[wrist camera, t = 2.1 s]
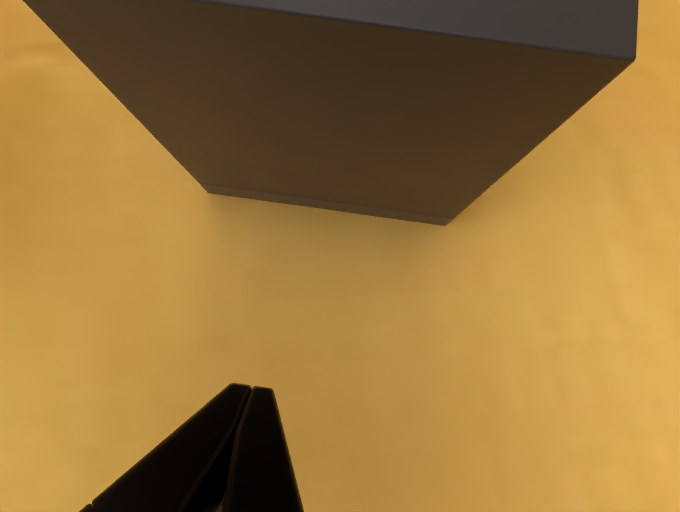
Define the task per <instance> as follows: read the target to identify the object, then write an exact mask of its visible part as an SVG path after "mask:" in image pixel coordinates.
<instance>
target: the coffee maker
mask: <svg viewBox="0 0 680 512" xmlns="http://www.w3.org/2000/svg"><path fill="white" fill-rule="evenodd" d="M23 1H24V2H25V3H26V4H27V5H28V6H29V7H30V8H31V9H32V10H33V11H34V12H35V13H36V15H37V16H38V17H39V18H40V19H41V20H42V21H43V22H44V23H45V24H46V25H47V26H48V27H49V28H50V29H51V30H52V31H53V32H54V33H55V34H56V35H57V36H58V37H59V38H60V39H61V40H62V41H63V43H64V44H65V45H66V46H67V47H68V48H69V49H70V50H71V51H72V52H73V53H74V54H75V55H76V56H77V57H78V58H79V59H80V60H81V61H82V62H83V63H84V64H85V65H86V66H87V67H88V68H89V69H90V70H91V72H92V73H93V74H94V75H95V76H96V77H97V78H98V79H99V80H100V81H101V82H102V83H103V84H104V85H105V86H106V87H107V88H108V89H109V90H110V91H111V92H112V93H113V94H114V95H115V96H116V97H117V98H118V99H119V101H120V102H121V103H122V104H123V105H124V106H125V107H126V108H127V109H128V110H129V111H130V112H131V113H132V114H133V115H134V116H135V117H136V118H137V119H138V120H139V121H140V122H141V123H142V124H143V125H144V126H145V127H146V128H147V130H148V131H149V132H150V133H151V134H152V135H153V136H154V137H155V138H156V139H157V140H158V141H159V142H160V143H161V144H162V145H163V146H164V147H165V148H166V149H167V150H168V151H169V152H170V153H171V154H172V155H173V156H174V157H175V159H176V160H177V161H178V162H179V163H180V164H181V165H182V166H183V167H184V168H185V169H186V170H187V171H188V172H189V173H190V174H191V175H192V176H193V177H194V178H195V179H196V180H197V181H198V182H199V183H200V184H201V186H202V187H203V188H204V189H205V190H206V191H207V192H208V193H215V194H222V195H229V196H236V197H243V198H250V199H258V200H265V201H272V202H279V203H286V204H293V205H300V206H308V207H315V208H322V209H329V210H336V211H343V212H350V213H358V214H365V215H372V216H379V217H386V218H393V219H400V220H407V221H415V222H422V223H429V224H436V225H443V226H445V225H447V224H448V223H449V222H450V221H451V220H452V219H454V218H455V217H456V216H457V215H458V214H459V213H460V212H462V211H463V210H464V209H465V208H466V207H467V206H468V205H470V204H471V203H472V202H473V201H474V200H475V199H477V198H478V197H479V196H480V195H481V194H482V193H483V192H485V191H486V190H487V189H488V188H489V187H490V186H491V185H493V184H494V183H495V182H496V181H497V180H498V179H499V178H501V177H502V176H503V175H504V174H505V173H506V172H508V171H509V170H510V169H511V168H512V167H513V166H514V165H516V164H517V163H518V162H519V161H520V160H521V159H522V158H524V157H525V156H526V155H527V154H528V153H529V152H530V151H532V150H533V149H534V148H535V147H536V146H537V145H539V144H540V143H541V142H542V141H543V140H544V139H545V138H547V137H548V136H549V135H550V134H551V133H552V132H553V131H555V130H556V129H557V128H558V127H559V126H560V125H561V124H563V123H564V122H565V121H566V120H567V119H568V118H570V117H571V116H572V115H573V114H574V113H575V112H576V111H578V110H579V109H580V108H581V107H582V106H583V105H584V104H586V103H587V102H588V101H589V100H590V99H591V98H592V97H594V96H595V95H596V94H597V93H598V92H599V91H601V90H602V89H603V88H604V87H605V86H606V85H607V84H609V83H610V82H611V81H612V80H613V79H614V78H615V77H617V76H618V75H619V74H620V73H621V72H622V71H623V70H625V69H626V68H627V67H628V66H629V65H630V64H632V63H633V62H634V60H635V58H636V44H637V21H638V0H23Z"/></svg>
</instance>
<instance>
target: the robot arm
mask: <svg viewBox="0 0 680 512" xmlns="http://www.w3.org/2000/svg"><path fill="white" fill-rule="evenodd" d="M79 512H304V510H303V506H302V502H301V498H300V494H299V490H298V486H297V482H296V478H295V474H294V470H293V466H292V462H291V458H290V454H289V450H288V446H287V442H286V438H285V434H284V430H283V426H282V422H281V418H280V414H279V410H278V406H277V402H276V398H275V394H274V391H273V389H271V388H266V387H259V386H254V387H253V388H251V386H250V385H245V384H238V383H232V384H229V385H228V386H227V387H226V388H225V389H223V390H222V391H221V392H220V393H219V394H218V395H216V396H215V397H214V398H213V399H212V400H210V401H209V402H208V403H207V404H206V405H205V406H203V407H202V408H201V409H200V410H199V411H198V412H196V413H195V414H194V415H193V416H192V417H190V418H189V419H188V420H187V421H186V422H185V423H183V424H182V425H181V426H180V427H179V428H177V429H176V430H175V431H174V432H173V433H172V434H170V435H169V436H168V437H167V438H166V439H165V440H163V441H162V442H161V443H160V444H159V445H157V446H156V447H155V448H154V449H153V450H152V451H150V452H149V453H148V454H147V455H146V456H145V457H143V458H142V459H141V460H140V461H139V462H137V463H136V464H135V465H134V466H133V467H132V468H130V469H129V470H128V471H127V472H126V473H124V474H123V475H122V476H121V477H120V478H119V479H117V480H116V481H115V482H114V483H113V484H112V485H110V486H109V487H108V488H107V489H106V490H104V491H103V492H102V493H101V494H100V495H99V496H97V497H96V498H95V499H94V500H93V501H92V504H88V505H86V506H85V507H84V508H83V509H82V510H81V511H79Z"/></svg>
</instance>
